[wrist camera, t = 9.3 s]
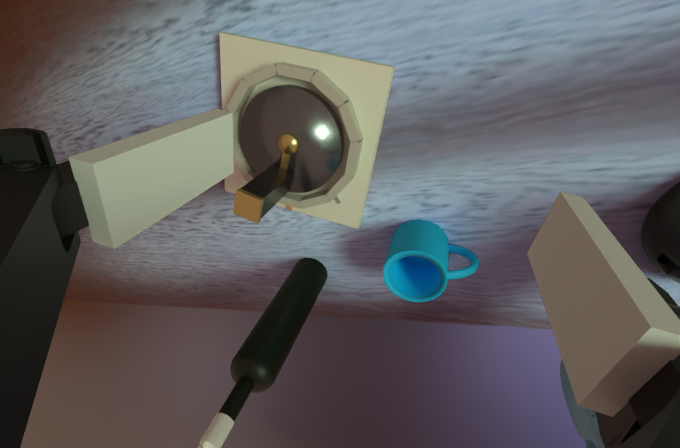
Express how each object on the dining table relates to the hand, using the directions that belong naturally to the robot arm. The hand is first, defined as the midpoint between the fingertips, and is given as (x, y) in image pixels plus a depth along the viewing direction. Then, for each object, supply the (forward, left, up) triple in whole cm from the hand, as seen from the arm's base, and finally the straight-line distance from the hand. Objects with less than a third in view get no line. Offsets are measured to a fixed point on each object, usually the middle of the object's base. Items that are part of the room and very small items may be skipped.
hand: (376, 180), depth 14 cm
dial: (+15, +10, -29) cm, 34 cm away
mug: (-7, +21, -31) cm, 38 cm away
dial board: (+15, +10, -31) cm, 36 cm away
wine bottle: (+11, +33, -31) cm, 46 cm away
